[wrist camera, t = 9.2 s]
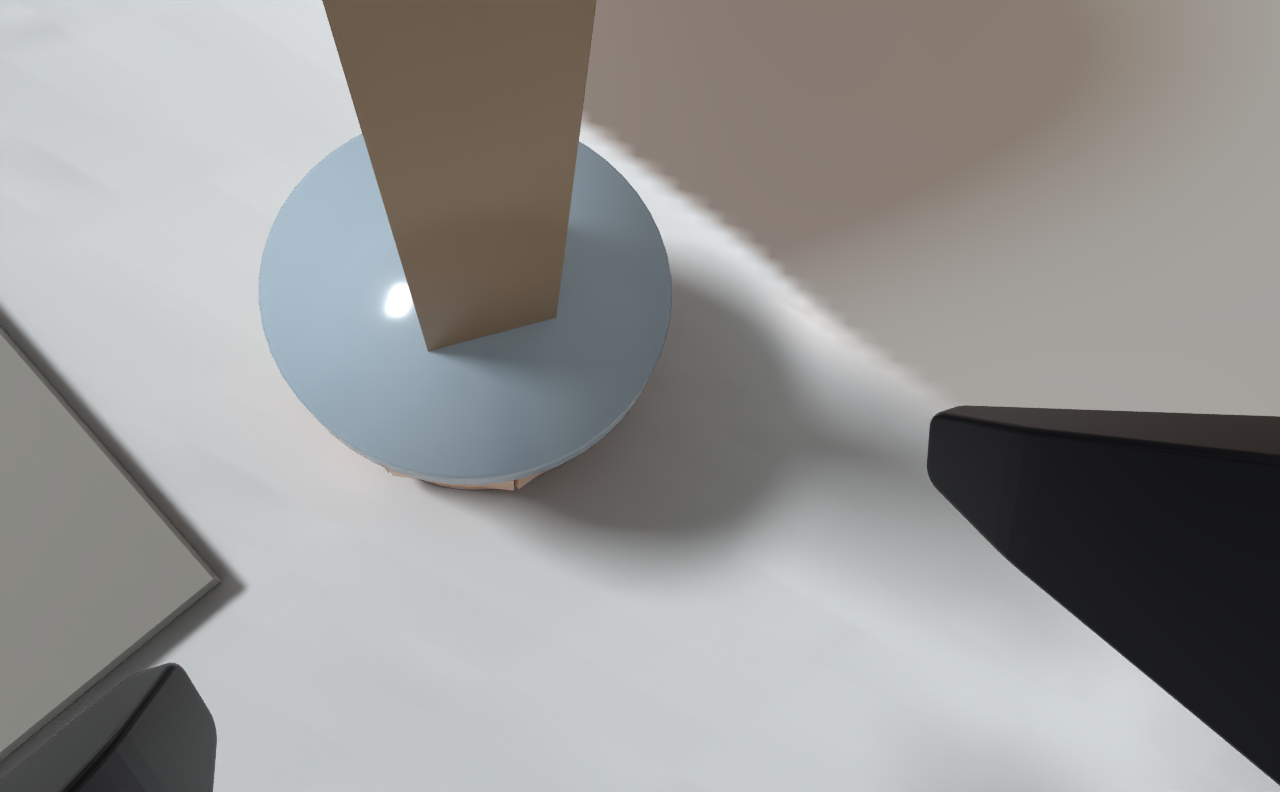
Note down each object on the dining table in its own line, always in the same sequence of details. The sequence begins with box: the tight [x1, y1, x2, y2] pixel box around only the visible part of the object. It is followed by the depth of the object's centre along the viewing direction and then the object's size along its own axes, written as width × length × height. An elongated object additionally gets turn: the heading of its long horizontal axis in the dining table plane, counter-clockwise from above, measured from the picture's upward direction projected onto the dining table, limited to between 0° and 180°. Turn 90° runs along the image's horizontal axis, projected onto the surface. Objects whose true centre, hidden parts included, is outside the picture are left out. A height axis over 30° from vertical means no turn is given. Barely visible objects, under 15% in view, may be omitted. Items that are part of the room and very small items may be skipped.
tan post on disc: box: [259, 0, 672, 485], centre depth 13 cm, size 10×10×13 cm
